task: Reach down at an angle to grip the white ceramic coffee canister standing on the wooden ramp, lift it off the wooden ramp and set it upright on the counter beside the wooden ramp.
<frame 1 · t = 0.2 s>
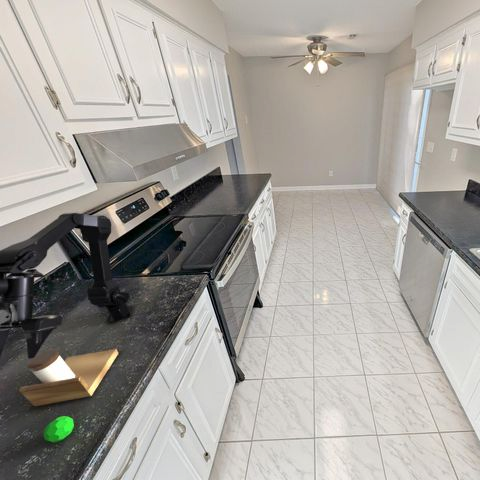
hand: (13, 359, 64), 15 cm above the worktop, tool tilted 35°, fingers open, 9 cm apart
coffee canister: (62, 382, 71), point 2 cm above the worktop, touching wooden ramp
wooden ramp: (80, 377, 75), on the worktop
polyhedron: (65, 434, 61), on the worktop
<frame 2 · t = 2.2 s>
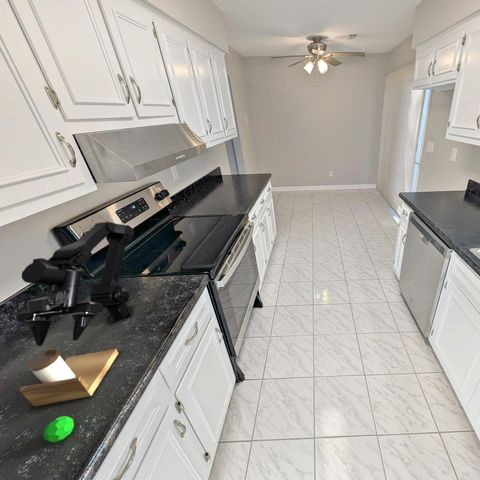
hand: (57, 343, 71), 12 cm above the worktop, tool tilted 45°, fingers open, 9 cm apart
nothing on the worktop moved.
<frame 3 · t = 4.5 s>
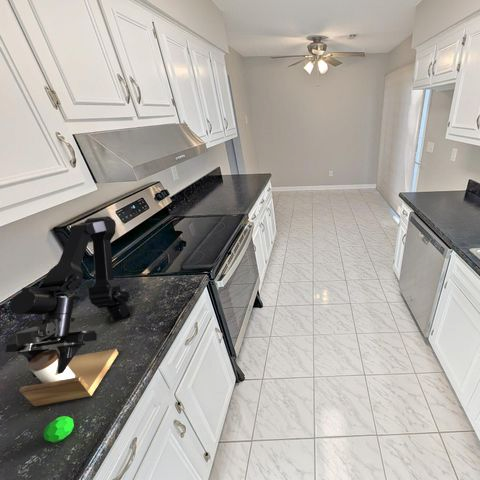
hand: (48, 375, 68), 7 cm above the worktop, tool tilted 45°, fingers closed on coffee canister, 5 cm apart
coffee canister: (62, 382, 71), point 2 cm above the worktop, touching gripper, wooden ramp
everything else where it was.
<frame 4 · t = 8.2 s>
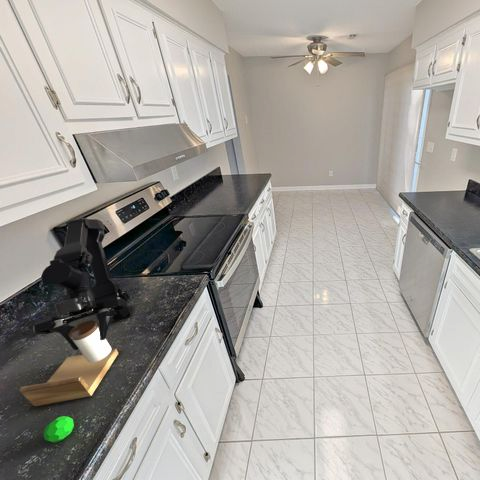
hand: (90, 344, 69), 13 cm above the worktop, tool tilted 45°, fingers closed on coffee canister, 5 cm apart
coffee canister: (99, 353, 72), point 8 cm above the worktop, touching gripper
everything else where it was.
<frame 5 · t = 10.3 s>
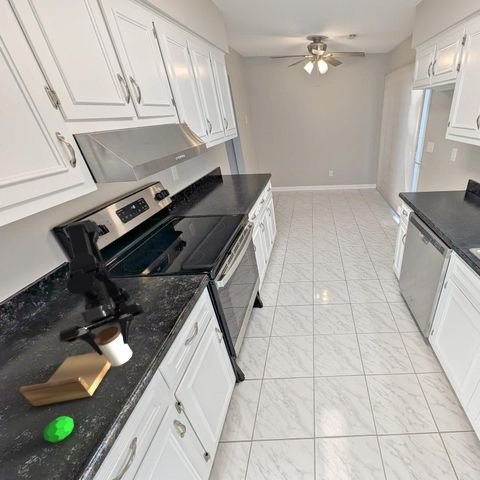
hand: (114, 349, 73), 8 cm above the worktop, tool tilted 45°, fingers closed on coffee canister, 5 cm apart
coffee canister: (121, 358, 76), point 3 cm above the worktop, touching gripper
everything else where it was.
when the fingers open (5 cm above the worktop, at t = 11.8 s): coffee canister stays where it is, on the worktop.
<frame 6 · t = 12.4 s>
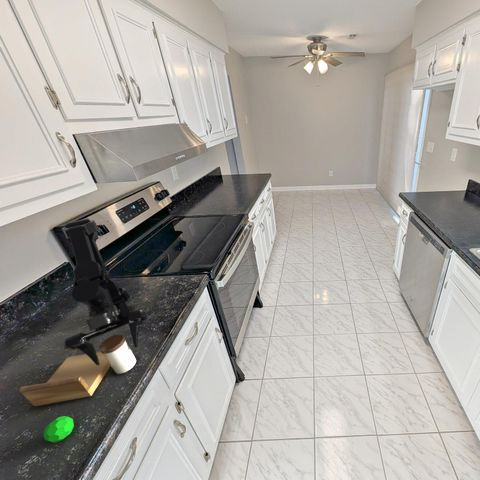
hand: (117, 355, 74), 6 cm above the worktop, tool tilted 45°, fingers open, 9 cm apart
coffee canister: (125, 365, 77), on the worktop
everything else where it was.
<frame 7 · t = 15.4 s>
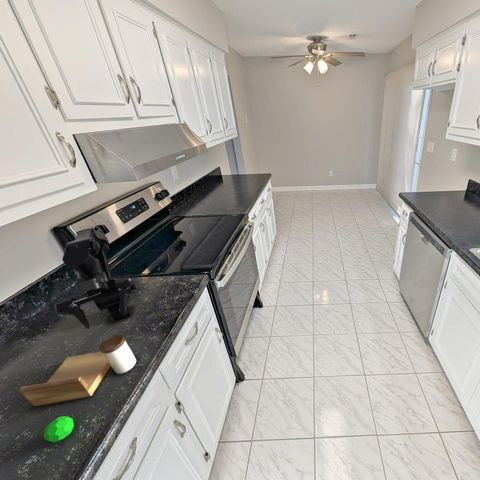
hand: (107, 320, 77), 13 cm above the worktop, tool tilted 45°, fingers open, 9 cm apart
nothing on the worktop moved.
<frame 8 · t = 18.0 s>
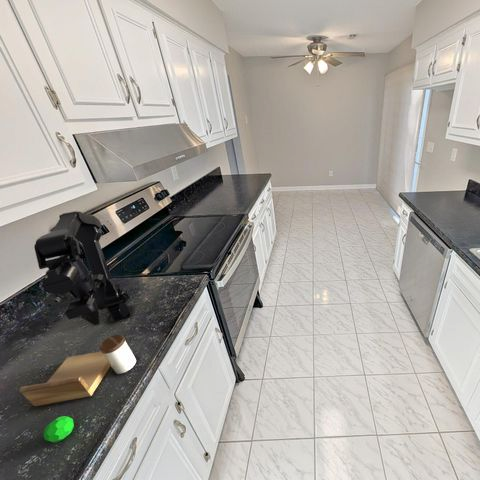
hand: (99, 315, 81), 12 cm above the worktop, tool pointing down, fingers open, 9 cm apart
nothing on the worktop moved.
at the end: coffee canister inside the target area (0.0 cm from its centre), on the worktop; coffee canister touching worktop; coffee canister tilted 0° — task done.
